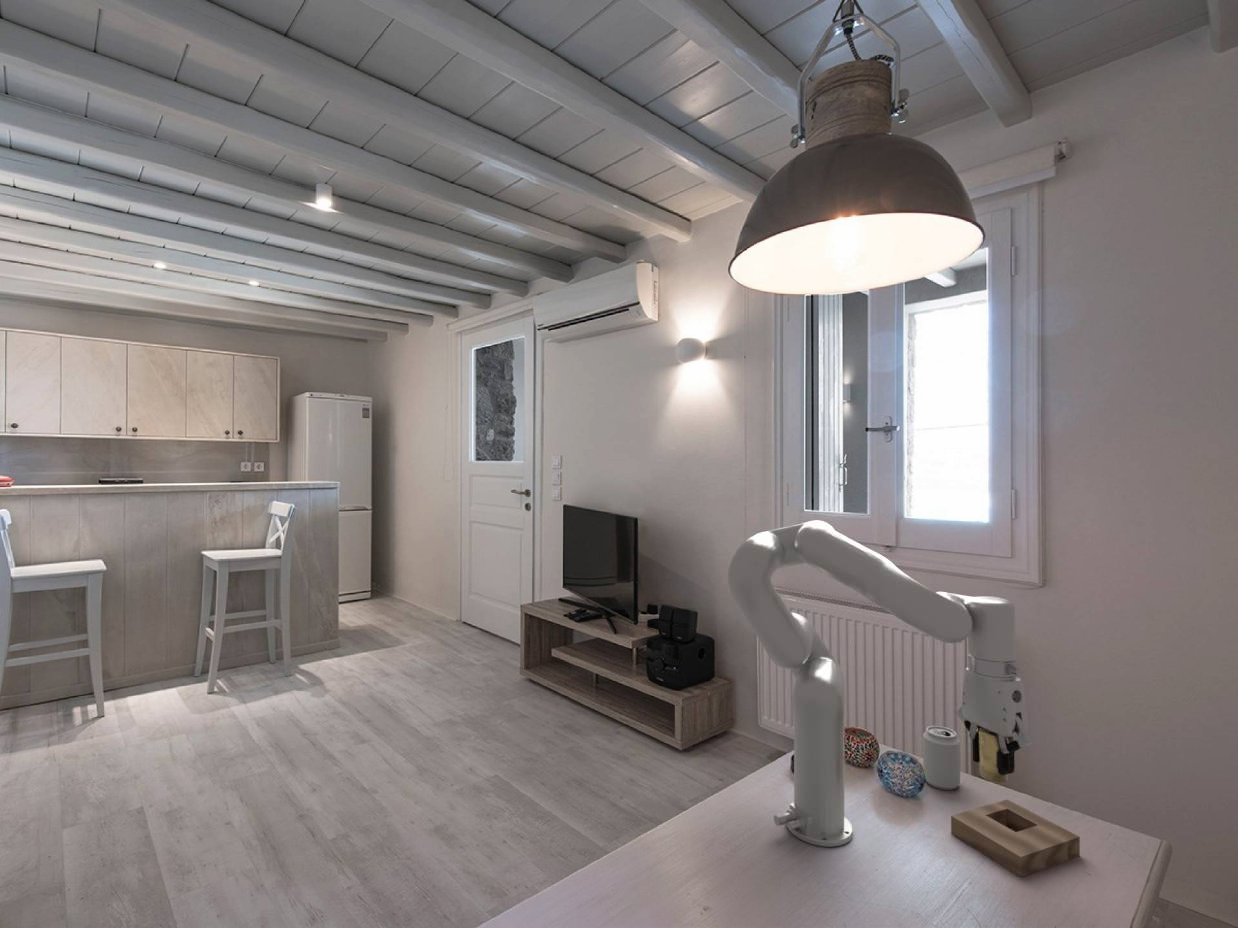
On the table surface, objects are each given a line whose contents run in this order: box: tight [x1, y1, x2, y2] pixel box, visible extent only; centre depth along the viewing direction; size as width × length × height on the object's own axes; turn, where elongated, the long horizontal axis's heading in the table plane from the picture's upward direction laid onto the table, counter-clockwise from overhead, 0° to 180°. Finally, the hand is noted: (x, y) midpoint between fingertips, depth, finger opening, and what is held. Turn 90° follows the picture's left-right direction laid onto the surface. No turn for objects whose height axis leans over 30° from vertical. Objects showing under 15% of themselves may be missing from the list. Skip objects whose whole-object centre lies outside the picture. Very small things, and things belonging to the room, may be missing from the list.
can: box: [922, 725, 961, 791], centre depth 141 cm, size 8×8×12 cm
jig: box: [950, 799, 1081, 878], centre depth 118 cm, size 16×14×4 cm
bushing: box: [978, 728, 1009, 783], centre depth 113 cm, size 4×4×8 cm
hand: (993, 765), depth 113 cm, fingers closed on bushing, 4 cm apart
